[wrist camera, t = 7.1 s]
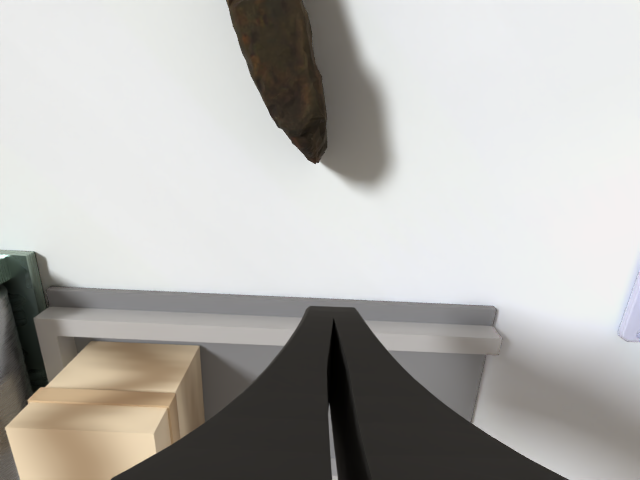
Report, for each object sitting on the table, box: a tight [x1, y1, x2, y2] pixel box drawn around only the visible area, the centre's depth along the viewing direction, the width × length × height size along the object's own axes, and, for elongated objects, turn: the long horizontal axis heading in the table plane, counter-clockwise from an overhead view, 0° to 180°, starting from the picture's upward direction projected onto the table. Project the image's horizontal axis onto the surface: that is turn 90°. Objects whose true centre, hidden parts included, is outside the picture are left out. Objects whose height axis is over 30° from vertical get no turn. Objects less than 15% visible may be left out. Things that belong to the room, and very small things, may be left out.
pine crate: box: [5, 341, 205, 480], centre depth 19 cm, size 6×7×6 cm
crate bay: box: [33, 287, 502, 480], centre depth 22 cm, size 24×13×2 cm, turn 87°
